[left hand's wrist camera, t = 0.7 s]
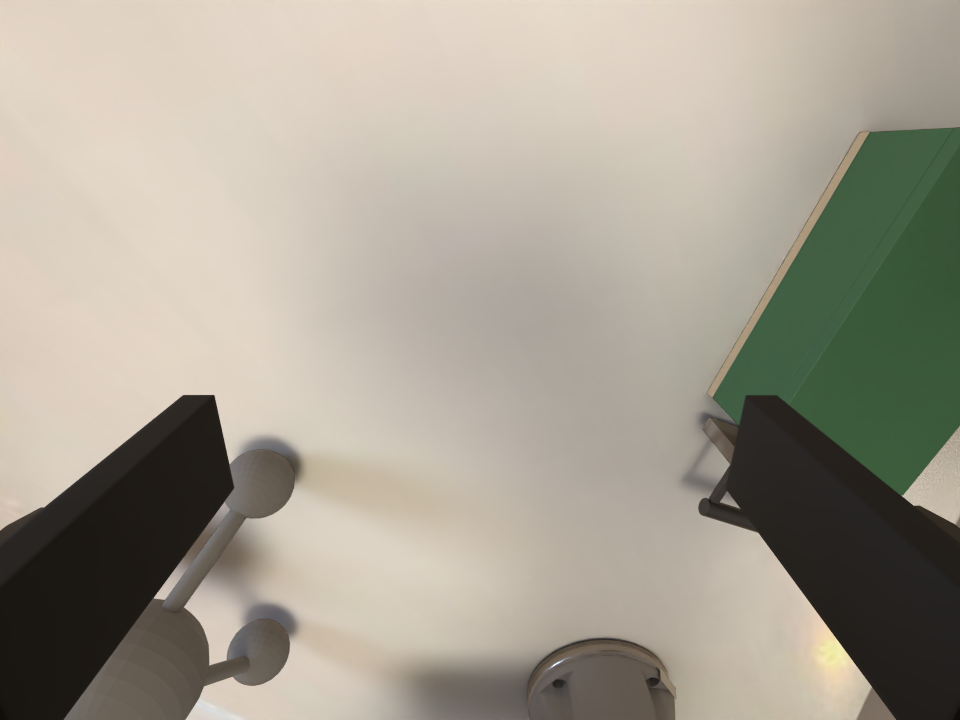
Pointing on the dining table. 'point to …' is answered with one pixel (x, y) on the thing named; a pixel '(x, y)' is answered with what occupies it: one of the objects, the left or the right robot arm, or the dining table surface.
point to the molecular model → (194, 622)
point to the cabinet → (868, 309)
